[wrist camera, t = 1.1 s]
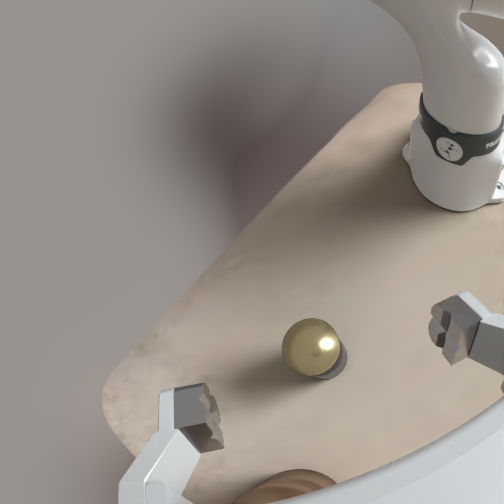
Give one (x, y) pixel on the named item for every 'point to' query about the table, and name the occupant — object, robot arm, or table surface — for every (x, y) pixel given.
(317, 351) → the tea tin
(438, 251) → the table surface
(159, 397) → the robot arm
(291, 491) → the brown wooden cylinder
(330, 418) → the table surface
